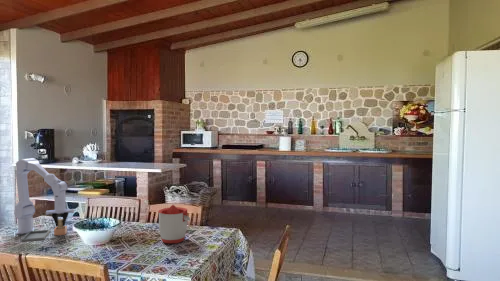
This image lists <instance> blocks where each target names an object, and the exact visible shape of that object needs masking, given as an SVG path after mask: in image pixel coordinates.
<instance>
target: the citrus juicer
mask: <svg viewBox="0 0 500 281" xmlns="http://www.w3.org/2000/svg"><path fill="white" fill-rule="evenodd" d="M157 212H158V231H159V236H160V239H161V241H162V242H163V243H165V244H179V243H182V242H183V241H185V238H186V234H187V229H188V222H190V221H191V217H190V216H188V209H187V208H185V207H177V206H175V205H174V204H172V205H171V206H170V207H165V208H161V209H159V210H158V211H157Z"/></svg>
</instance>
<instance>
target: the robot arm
mask: <svg viewBox="0 0 500 281" xmlns="http://www.w3.org/2000/svg"><path fill="white" fill-rule="evenodd" d="M15 167H16V168H15V169H16V170H15V178H16V186H17V187H16V189H17V196H18V202H17V203H16V204H15V205H14V216H15V217H16V219H17V230H18V231H17V232H16V233H15V235H20V234H21V235H23V234H27V233H28V232H29V231H35V229H36V227H34V218H33V216H34V214H35V212H36V207H35V205H34V202H33V201H32V200H30V192H29V180H28V174H29V173H30V172H31V171H34V172H36V173H37V174H39V176H41V177H42V178H43V181H44V182H45V183H46V184H47V185H48V186H49V187H51V191H52V192H53V198H54V209H51V210H50V209H49V210H46V211H45V215H48V216H49V215H51V217H52V219H53V221H54V223H55V228H56V227H58V218H59V215H60V214H61V215H62V219H63V226H66V221H67V218H68V216H69V214H75V208H66V205H67V204H66V199H67V198H66V191H67V189H68V186H69V185H68V184H67V182H66V181H64V180H61V179H59V178H58V177H57V176H56V175H55V173H49V172H48V171H47V170H46V169H45V168H44V167H43V166H42V165H41V164H40V160H38V159H37V158H35V157H31V158H21V159H18V160H17V161H16V163H15Z"/></svg>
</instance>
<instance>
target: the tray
mask: <svg viewBox="0 0 500 281" xmlns="http://www.w3.org/2000/svg"><path fill="white" fill-rule="evenodd" d="M50 233H51V229H40V230H33V231H29V232H28V233H25V235H24V236H23V237H22V238H21V239H20V241H21V242H22V243H23V242H32V241H33V242H35V241H44V240H45V239H46V238H47V237H48V236H49V235H50Z"/></svg>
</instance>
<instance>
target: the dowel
mask: <svg viewBox="0 0 500 281" xmlns="http://www.w3.org/2000/svg"><path fill="white" fill-rule="evenodd" d="M57 227H58V229H63V228H64V227H63V218H59V219H58V226H57Z"/></svg>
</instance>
